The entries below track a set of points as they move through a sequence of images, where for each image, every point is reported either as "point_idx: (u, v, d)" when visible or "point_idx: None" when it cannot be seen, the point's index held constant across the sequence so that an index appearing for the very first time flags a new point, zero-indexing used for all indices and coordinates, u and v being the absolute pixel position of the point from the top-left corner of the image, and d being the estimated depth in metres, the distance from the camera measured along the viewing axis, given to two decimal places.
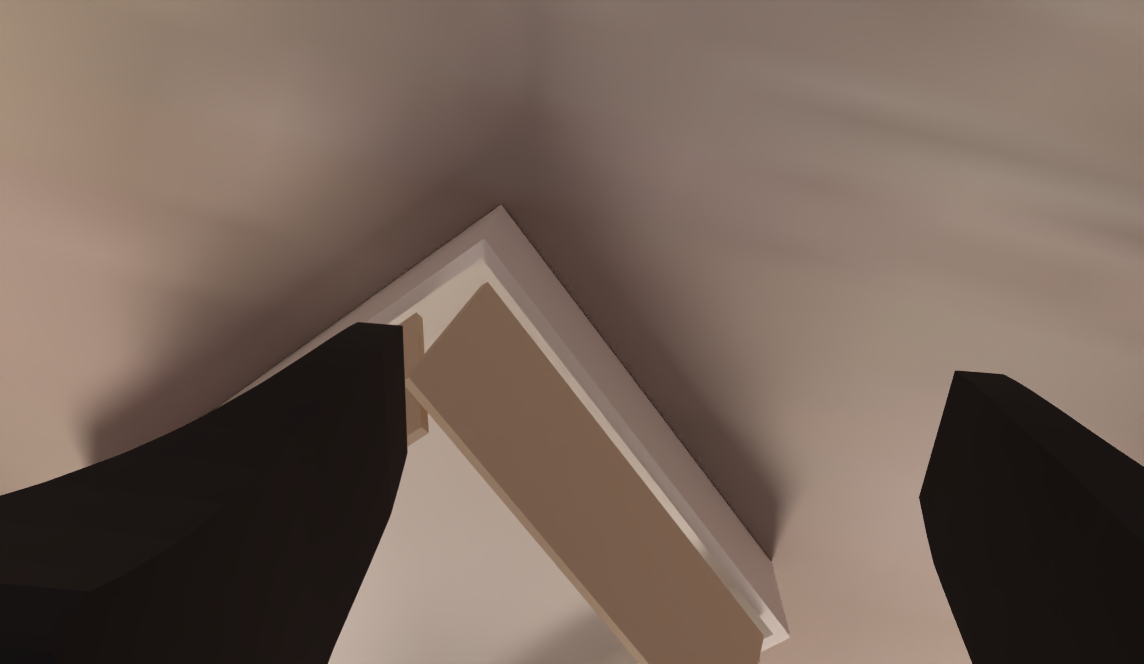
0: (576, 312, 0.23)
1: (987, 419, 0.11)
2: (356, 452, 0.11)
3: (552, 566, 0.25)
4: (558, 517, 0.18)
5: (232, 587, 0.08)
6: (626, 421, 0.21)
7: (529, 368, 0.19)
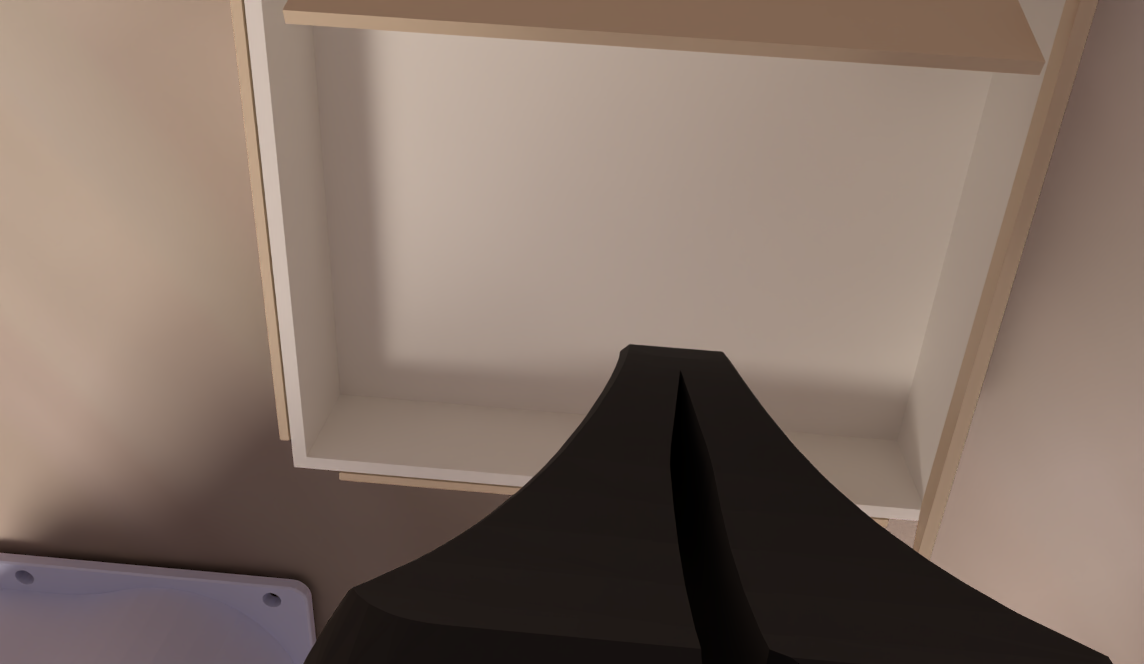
0: None
1: (679, 393, 0.11)
2: None
3: (725, 308, 0.21)
4: None
5: None
6: None
7: None
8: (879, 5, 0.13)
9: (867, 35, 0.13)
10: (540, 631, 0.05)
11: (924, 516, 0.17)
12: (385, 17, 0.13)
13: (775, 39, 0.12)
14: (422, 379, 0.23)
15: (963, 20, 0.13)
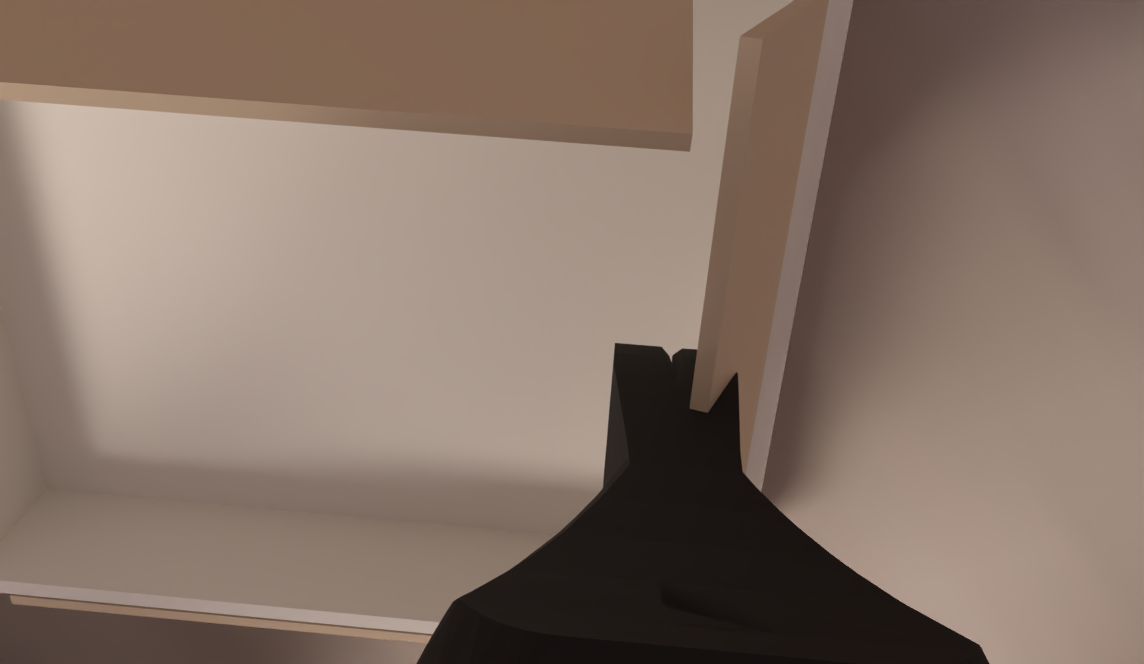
0: None
1: (613, 388, 0.11)
2: None
3: (485, 395, 0.18)
4: None
5: None
6: (793, 311, 0.14)
7: (791, 159, 0.11)
8: (493, 48, 0.09)
9: (451, 94, 0.09)
10: (656, 641, 0.05)
11: None
12: None
13: (317, 99, 0.09)
14: (140, 472, 0.19)
15: (603, 70, 0.09)
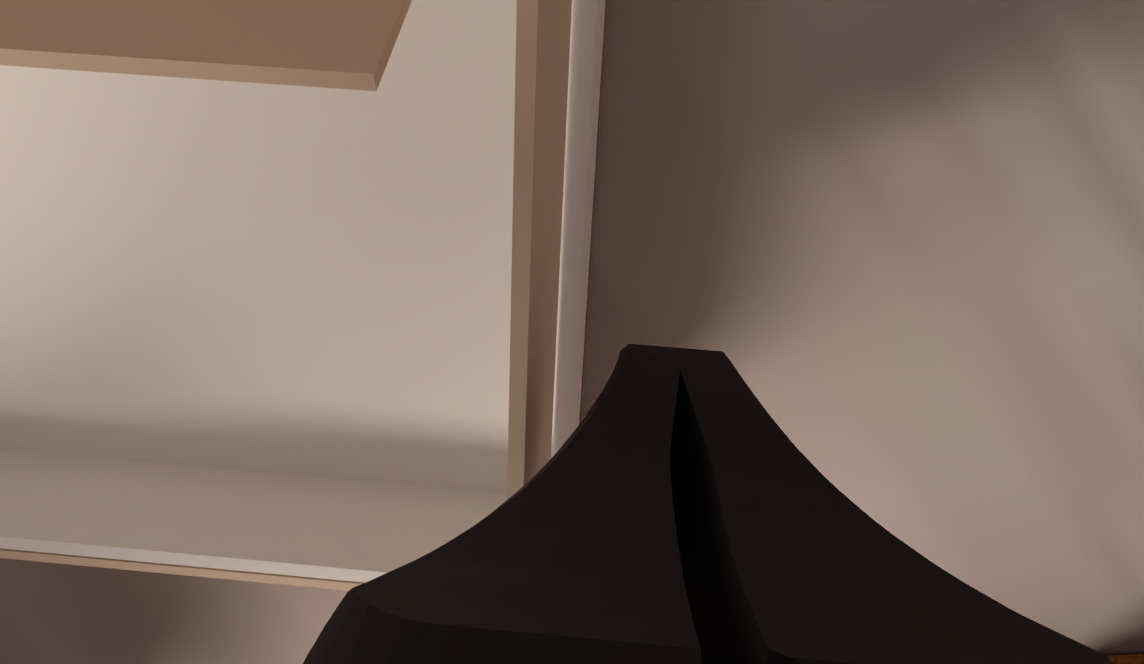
0: (599, 84, 0.15)
1: (680, 394, 0.11)
2: None
3: (337, 350, 0.18)
4: (534, 343, 0.11)
5: None
6: (582, 259, 0.14)
7: (561, 110, 0.12)
8: (218, 1, 0.10)
9: (164, 40, 0.10)
10: (540, 631, 0.05)
11: None
12: None
13: (41, 45, 0.10)
14: (21, 427, 0.20)
15: (311, 19, 0.10)
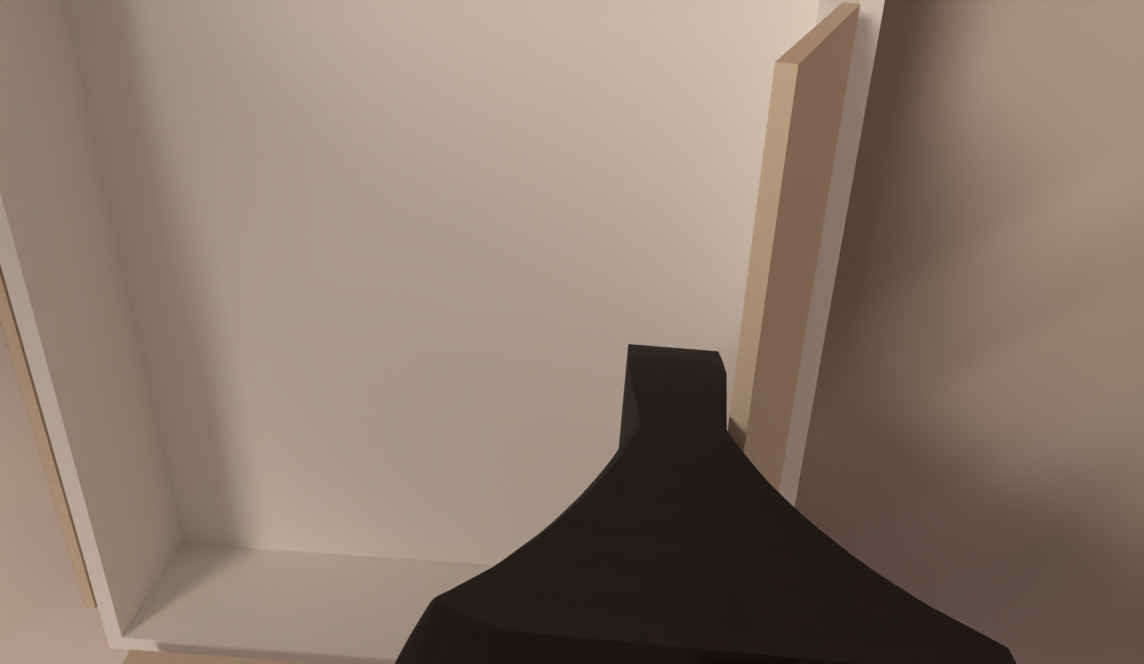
0: None
1: (627, 389, 0.11)
2: None
3: (308, 367, 0.17)
4: None
5: None
6: None
7: None
8: None
9: None
10: (633, 641, 0.05)
11: None
12: (773, 209, 0.09)
13: None
14: None
15: None
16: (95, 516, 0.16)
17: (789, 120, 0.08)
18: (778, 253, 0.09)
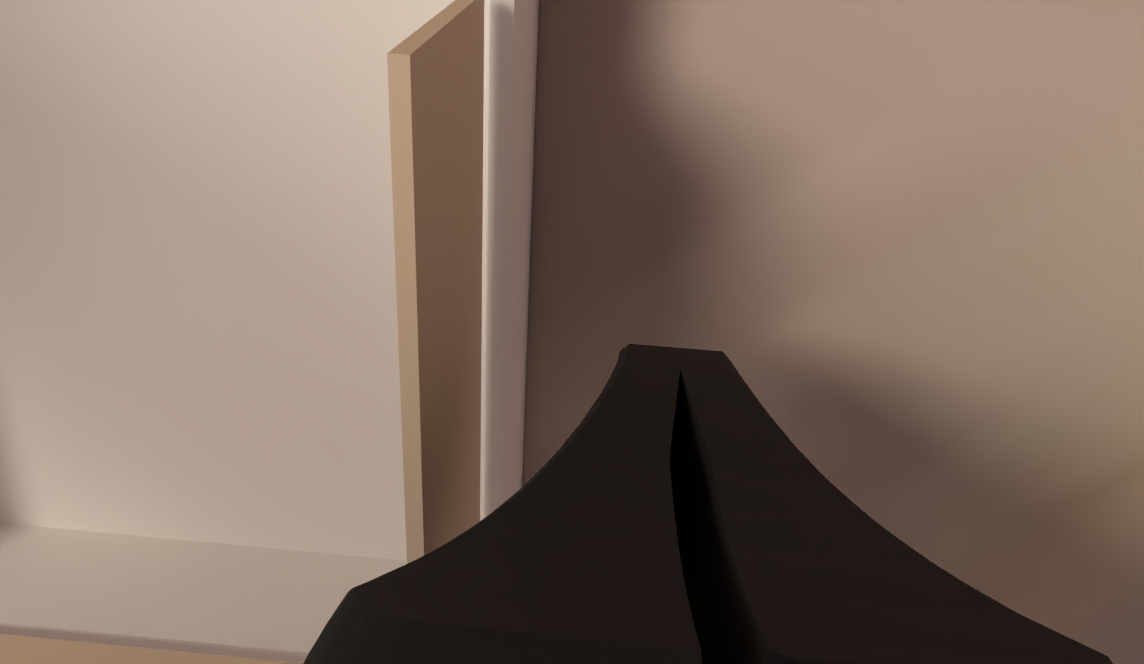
0: None
1: (680, 393, 0.11)
2: None
3: (64, 345, 0.18)
4: None
5: None
6: (224, 650, 0.18)
7: None
8: None
9: None
10: (540, 631, 0.05)
11: None
12: (410, 201, 0.09)
13: None
14: None
15: None
16: None
17: (410, 111, 0.08)
18: (424, 244, 0.09)
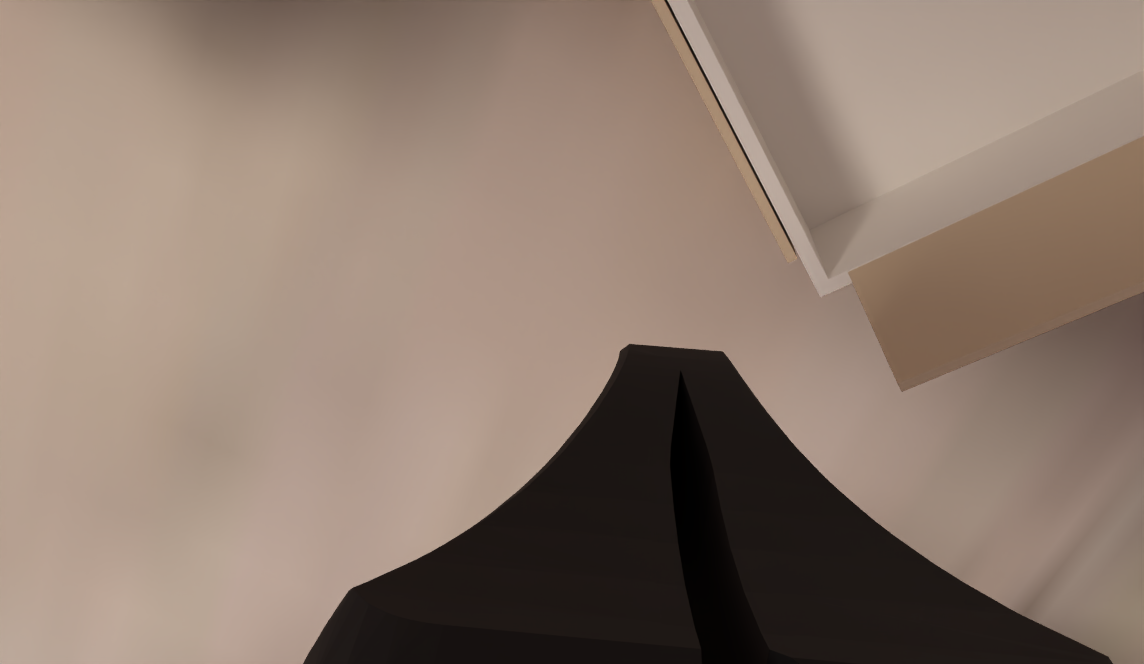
0: None
1: (680, 393, 0.11)
2: None
3: None
4: None
5: None
6: None
7: None
8: None
9: None
10: (540, 630, 0.05)
11: (951, 306, 0.16)
12: None
13: None
14: None
15: None
16: (769, 162, 0.18)
17: None
18: None
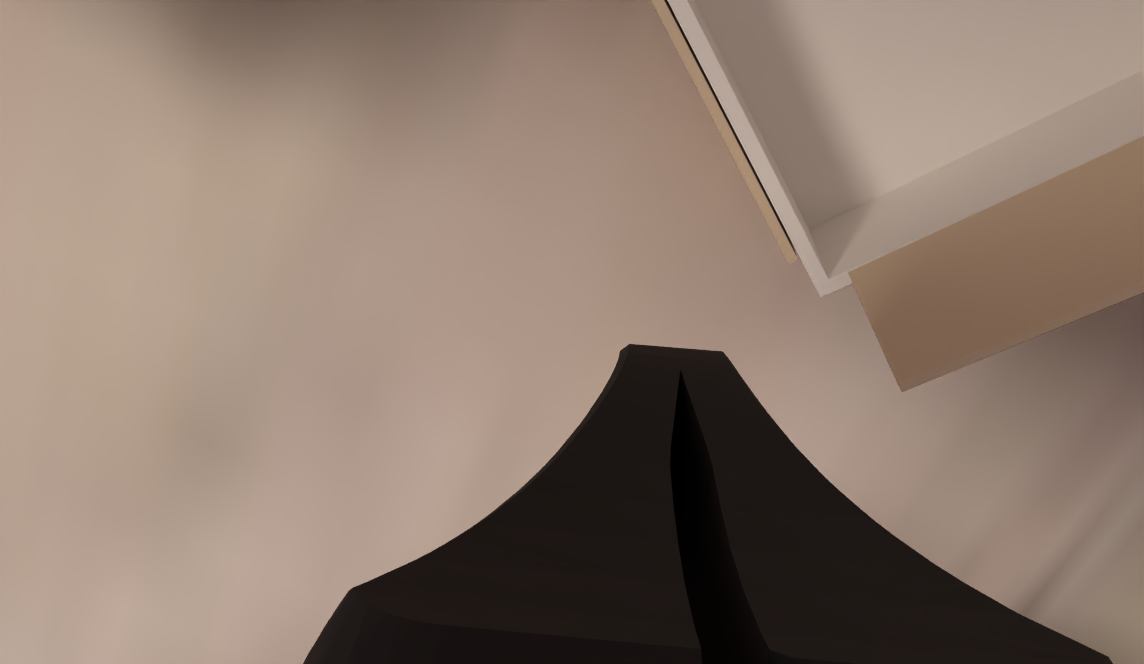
0: None
1: (680, 393, 0.11)
2: None
3: None
4: None
5: None
6: None
7: None
8: None
9: None
10: (540, 630, 0.05)
11: (952, 306, 0.16)
12: None
13: None
14: None
15: None
16: (769, 162, 0.18)
17: None
18: None
